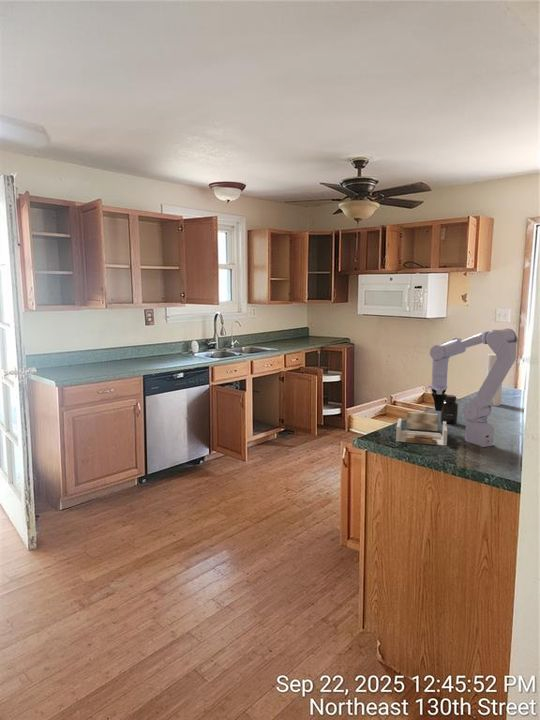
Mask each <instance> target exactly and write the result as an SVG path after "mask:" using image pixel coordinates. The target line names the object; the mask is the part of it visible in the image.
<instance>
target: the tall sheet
mask: <svg viewBox="0 0 540 720" xmlns="http://www.w3.org/2000/svg"><path fill="white" fill-rule="evenodd" d="M407 429H408V430H419V431H420V430H421V431H432V432H433V431H434V432H435V431H436V432H438V431H439V413H431V412H430V413H427V412H413V411H406V430H407Z"/></svg>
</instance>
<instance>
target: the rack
mask: <svg viewBox="0 0 540 720" xmlns="http://www.w3.org/2000/svg"><path fill="white" fill-rule="evenodd" d="M402 420H403V419H402V418H397V424H396V430H395V431H396V432H395V433H396V434H395V441H396V442H402V443H407V442H406V437H407V435H409V436H415V434H422V435H433V439H434V440H437V444H435V445H438V446H447V445H448V443H447V442H448V426H447V425H448V424H446V422H445V421H443V424H442V431H441V432H442V433H441V432H429V431H417V430H407V429H406V430H403V429H402ZM412 443H415V442H412ZM424 444H425V445H427V444H426V443H423V445H424Z"/></svg>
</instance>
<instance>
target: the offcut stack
mask: <svg viewBox="0 0 540 720" xmlns="http://www.w3.org/2000/svg"><path fill="white" fill-rule="evenodd" d="M413 442H415V443H416V444H424V443H426V444H425V445H436V444H437V440H434V439H433V435H422V434H415V436H409V435H407V437H406V442H405V443H413Z"/></svg>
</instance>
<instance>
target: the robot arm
mask: <svg viewBox="0 0 540 720" xmlns="http://www.w3.org/2000/svg"><path fill="white" fill-rule="evenodd" d="M518 342H519V339H518V336H517V334H516V332H515V331H514V330H513V329H512V328H507V327H506V328H502V329H491V330H488V331H482V332H480V333H477V334H475V335H472V336H470V337H467V338H465V339H462V338H460V337H459V338H458V337H453V338H451V340H449V341H447V342H446V341H444V342H441V344H435V345H433V346H432V347H431V348H430V350H429V356H430V358H431V359H432V365H431V366H432V368H431V384H430V385H428V388H431V390H430V391H431V396H432V399H433V403H434V409H435V411H436V412H441V410H442V406H443V402H444V401H445V398H446V396H447V395H448V394H446V392H447V389H448V370H449V369H448V367H449V366H448V365H449V360H450V358H451V357H454V356H457V355H461V354H464V353H465V352H466V350H467V348H470V347H473V346H477V345H480V344H484V345H488V347H489V348H490V350H492V352H493V354H496V357H497V360H496V362H495V363H494V365H493V367H492V369H491V370H490V372H489V374H488V376H487V375H486V376H487V377H486V378H485V379H484V381H483V383H482V384H481V386H480V388H479V389H478V391H477V393H476V394H475V395H474V396H472V398H471V399H470V400H469V402H468V403H466V404H464V406H463V408H462V414H463V417H464V418H465V429H464V430H465V432H464V433H465V435H464V441H465V442H467V443H469V444H470V443H471V444H473V445H476V446H479V447H482V448H486V447H492V446H495V443H494V432H495V431H494V430H495V429H494V426H493V424H491V423H489V422H488V419H489V418H488V417H489V416H490V415H491V414H492V407H493V406H492V405H493V401H492V399H493V397H494V395H495V394H496V392H497V390H498V389H499V387H500V385H501V383H502V384H503V382H504V380H505V379H506V376H507V375H508V373H509V372H510V370H511V368H512V367H513V365H514V363H515V362H516V359H517V344H518Z"/></svg>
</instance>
